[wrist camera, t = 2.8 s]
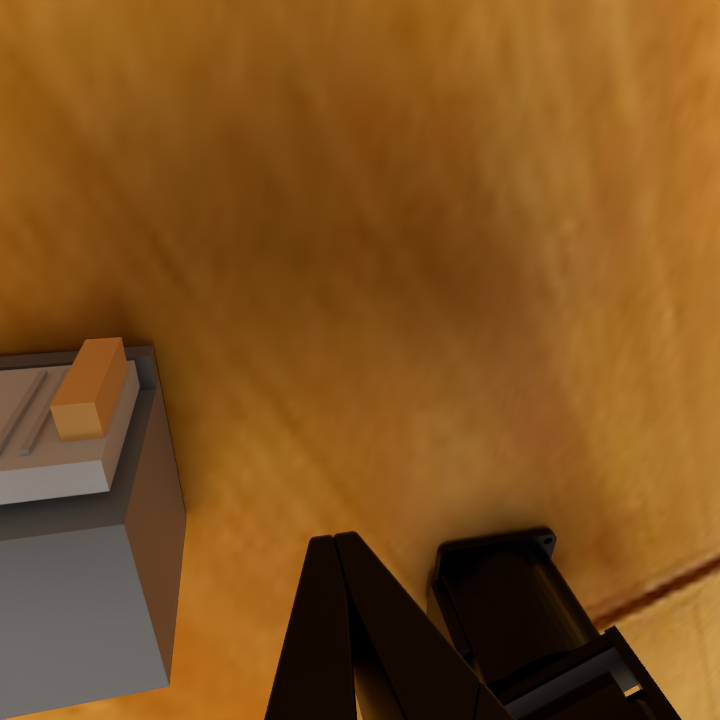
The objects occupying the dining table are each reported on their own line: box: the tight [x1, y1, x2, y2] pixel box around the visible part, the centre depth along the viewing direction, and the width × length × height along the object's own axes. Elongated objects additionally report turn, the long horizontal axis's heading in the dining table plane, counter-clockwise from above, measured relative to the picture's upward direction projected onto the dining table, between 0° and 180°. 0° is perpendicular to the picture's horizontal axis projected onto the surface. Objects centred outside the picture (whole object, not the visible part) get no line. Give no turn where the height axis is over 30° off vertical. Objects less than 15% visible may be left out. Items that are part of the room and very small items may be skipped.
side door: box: [0, 337, 140, 505], centre depth 14 cm, size 6×2×5 cm, turn 89°
